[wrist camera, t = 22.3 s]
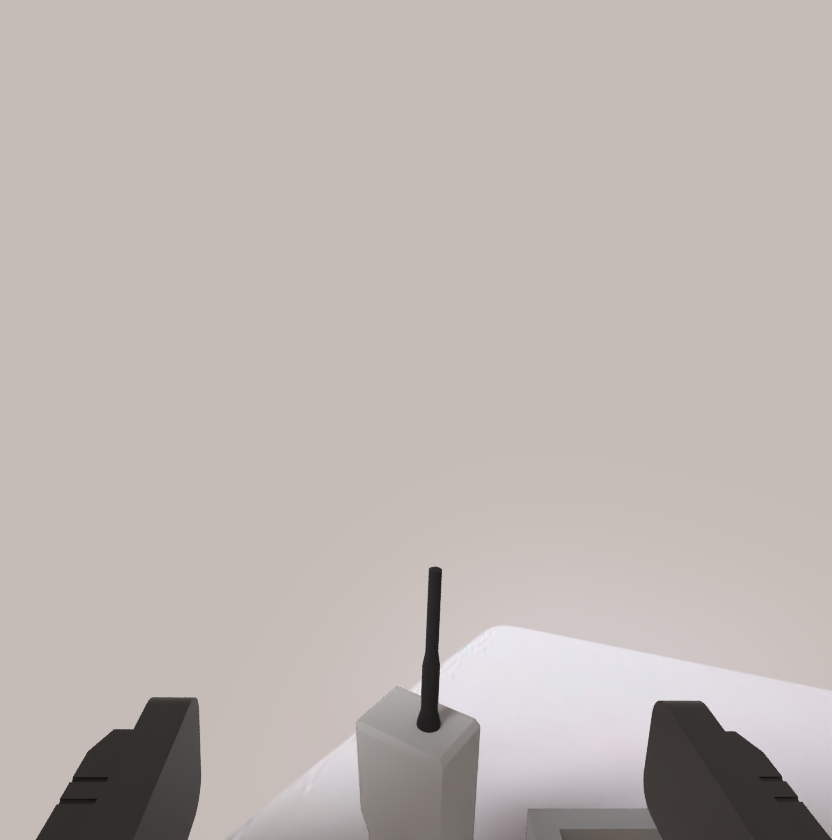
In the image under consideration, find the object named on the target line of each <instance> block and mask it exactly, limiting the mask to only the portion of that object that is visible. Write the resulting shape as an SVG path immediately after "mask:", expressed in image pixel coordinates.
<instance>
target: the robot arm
mask: <svg viewBox="0 0 832 840" xmlns="http://www.w3.org/2000/svg"><path fill="white" fill-rule="evenodd" d="M199 728H200V727H199V705H198V700H197V698H171V697H167V698H164V697H161V698H159V697H153V698H150V700H149V701H148V703H147V704H146V706H145V708H144V710H143V712H142V714H141V716H140V718H139V720H138V722H137V724H136V725H135V728H134V729H132V730H130V729H128V730H127V729H115V730H113V731H112V732H110V733H109V734H108V735H107V736H106V737H105V738H103V739H102V740H101V741H100V742H99V743H97V744H96V745H95V746H94V747H93V748H92V749H91V750H89V751H88V752H87V754H86V756H85V757H84V759H83V761H82V762H81V764H80V766H79V768H78V769H77V771H76V773H75V774H74V776H73V780H72V782H70V783H69V785H68V786H67V788H66V790H65V791H64V793H63V795H62V796H61V798H60V803H59V804H57V805H56V807H55V808H54V810H53V812H52V813H51V815H50V817H49V819H48V820H47V822H46V824H45V825H44V827H43V829H42V830H41V832H40V834H39V836H38V837H37V839H36V840H188V836H189V833H190V831H191V827H192V824H193V821H194V818H195V815H196V811H197V806H198V801H199V794H200V785H201V759H200V729H199ZM644 793H645V799H646V803H647V807H648V810H649V813H650V815H651V817H652V819H653V821H654V823H655V825H656V827H657V829H658V832H659V834H660V836H661V838H662V840H832V839H831V838H830V837H829V836H828V834H827V833H826V832H825V830H824V829H823V828H822V827H821V825H820V824H819V823H818V822H817V820H816V819H815V818H814V816H813V815H812V814H811V813H810V811H809V810H808V809H807V808H806V806H805V805H804V804H803V802H799V800H798V796H797V795H796V794H795V792H794V791H793V790H792V788H791V787H790V786H789V785H788V783H787V782H786V781H783V780H782V776H781V774H780V773H779V772H778V771H777V769H776V768H775V767H774V766H773V764H772V763H771V762H770V761H769V759H768V758H767V757H766V755H765V754H764V753H763V752H762V751H761V750H759V749H758V748H757V747H755V746H754V745H753V744H751V743H750V742H749V741H747V740H746V739H745V738H743V737H742V736H741V735H739V734H738V733H737V732H735V731H725V730H724V729H723V728H722V726H721V725H720V724H719V722H718V721H717V720H716V718H715V717H714V716H713V714H712V713H711V712H710V710H709V709H708V708H707V706H706V705H705V704H704V703H703V702H701V701H657V702H656V703H655V705H654V708H653V712H652V718H651V725H650V732H649V740H648V747H647V754H646V761H645V768H644Z"/></svg>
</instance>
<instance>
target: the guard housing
mask: <svg viewBox="0 0 832 840" xmlns="http://www.w3.org/2000/svg"><path fill="white" fill-rule="evenodd" d="M526 840H662V838H661V836H660V834H659V832H658V829H657V827H656V825H655V823H654V821H653V819H652V817H651V815H650V813H649V810H648V809H528V816H527V828H526Z"/></svg>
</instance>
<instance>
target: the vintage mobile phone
mask: <svg viewBox="0 0 832 840" xmlns="http://www.w3.org/2000/svg"><path fill="white" fill-rule="evenodd" d="M441 577H442V569H441V568H438V567H431V568H429V581H428V604H427V629H426V652H425V656H424V660H423V665H422V689H421V696H420V695H417V694H415V693H412V692H410V691H408V690H405V689H402V688H401V687H398V686H397V687H395V688H394V689H393V690H392V691H391V692H389V693H388V694H387V695H386V696H385V697H384V698H382V699H381V700H380V701H379V702H378V703H377V704H376V705H374V706H373V707H372V708H371V709H370V710H369V711H367V712H366V713H365V714H364V715H363V716H362V717H360V718H359V719H358V720H357V722H356V736H357V752H358V769H359V786H360V802H361V811H362V814H363V817H364V820H365V823H366V826H367V828H368V831H369V840H473V834H474V818H475V802H476V786H477V770H478V754H479V739H480V725H479V723H478V722H477V721H476V720H475V719H474V718H472V717H470V716H467V715H465V714H462V713H460V712H458V711H455V710H453V709H451V708H448V707H446V706H443V705H441V704H439V703H438V696H439V675H440V663H439V655H438V643H439V621H440V600H441Z"/></svg>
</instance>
